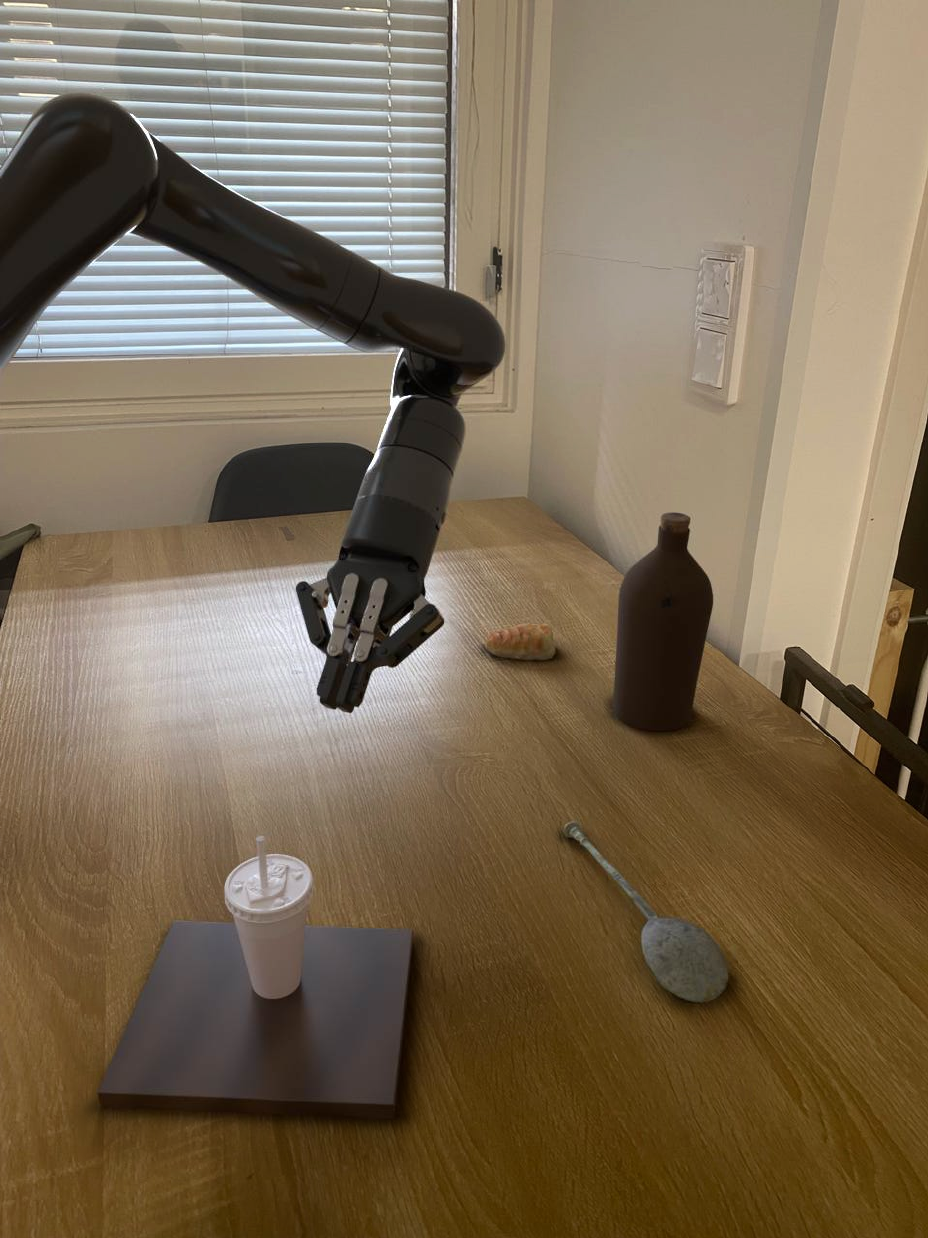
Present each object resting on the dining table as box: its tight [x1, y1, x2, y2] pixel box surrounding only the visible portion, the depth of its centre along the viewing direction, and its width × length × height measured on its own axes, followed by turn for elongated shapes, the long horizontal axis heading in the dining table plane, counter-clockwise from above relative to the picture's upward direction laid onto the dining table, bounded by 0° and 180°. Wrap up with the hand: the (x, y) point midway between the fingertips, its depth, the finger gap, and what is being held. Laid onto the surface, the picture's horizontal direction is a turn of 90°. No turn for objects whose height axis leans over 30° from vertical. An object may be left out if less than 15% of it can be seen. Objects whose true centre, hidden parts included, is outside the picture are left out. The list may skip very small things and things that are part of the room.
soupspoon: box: [562, 820, 729, 1004], centre depth 79 cm, size 22×3×7 cm
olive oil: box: [612, 511, 714, 733], centre depth 105 cm, size 11×11×25 cm
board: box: [97, 920, 414, 1120], centre depth 68 cm, size 20×16×2 cm
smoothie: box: [224, 835, 315, 999], centre depth 67 cm, size 6×6×14 cm
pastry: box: [484, 622, 556, 661], centre depth 124 cm, size 9×7×4 cm
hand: (335, 707), depth 71 cm, fingers closed
